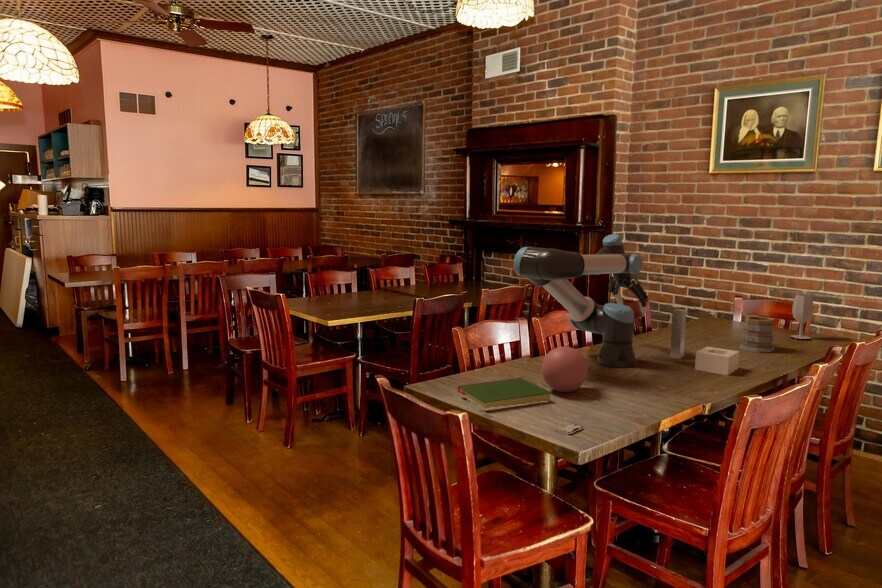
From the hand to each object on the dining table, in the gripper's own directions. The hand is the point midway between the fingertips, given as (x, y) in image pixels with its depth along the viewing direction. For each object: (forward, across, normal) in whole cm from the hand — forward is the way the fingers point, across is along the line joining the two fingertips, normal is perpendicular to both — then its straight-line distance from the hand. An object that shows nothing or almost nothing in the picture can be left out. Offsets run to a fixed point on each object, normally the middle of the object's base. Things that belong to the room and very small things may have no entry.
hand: (632, 308), depth 274 cm
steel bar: (+15, -24, +5) cm, 28 cm away
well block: (+12, -44, +7) cm, 47 cm away
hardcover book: (-30, -32, +90) cm, 100 cm away
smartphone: (-33, -60, +91) cm, 113 cm away
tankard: (+36, -29, -33) cm, 57 cm away
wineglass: (+53, -30, -66) cm, 89 cm away
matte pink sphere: (-19, -36, +67) cm, 78 cm away
